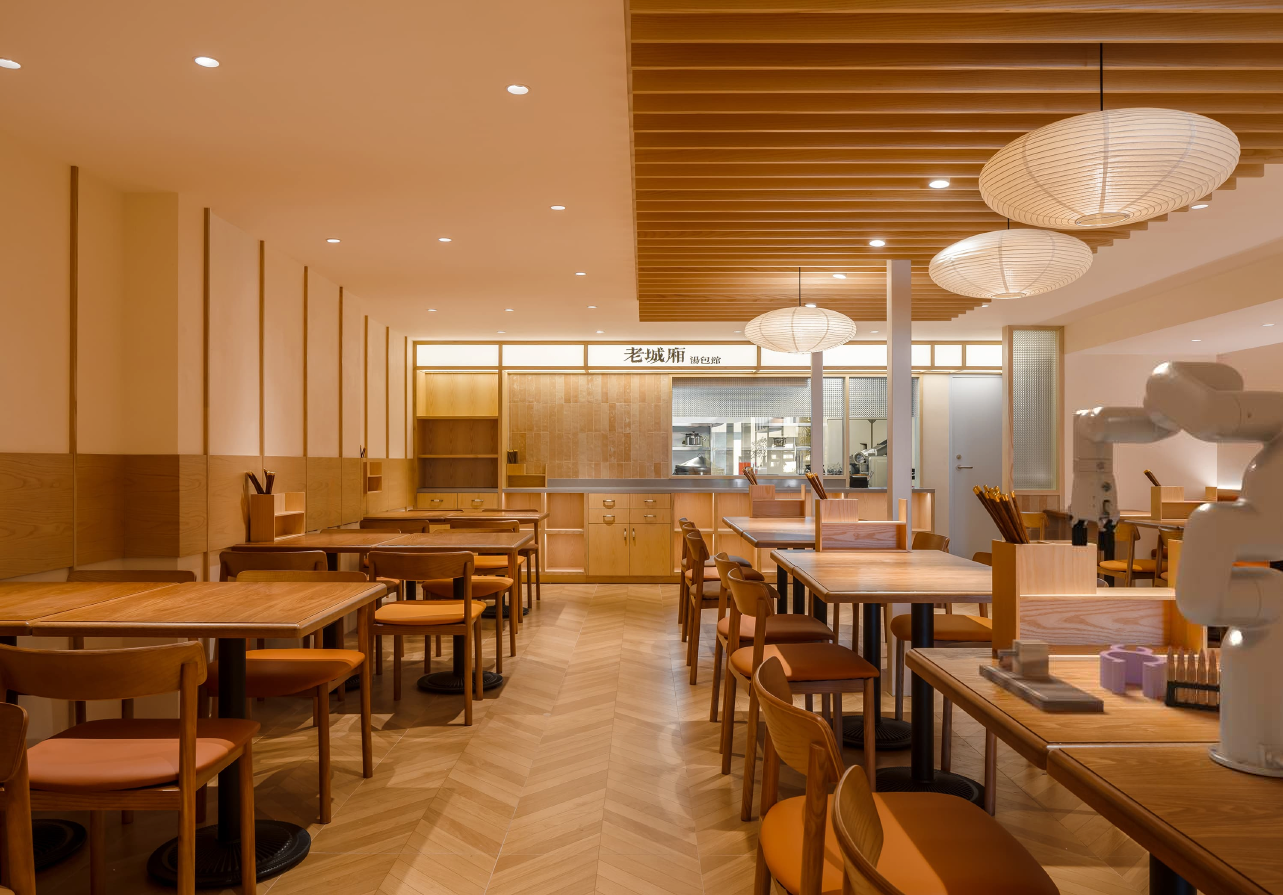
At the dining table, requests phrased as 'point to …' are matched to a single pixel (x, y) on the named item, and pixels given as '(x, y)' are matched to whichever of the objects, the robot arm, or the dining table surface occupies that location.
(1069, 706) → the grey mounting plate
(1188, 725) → the dining table surface
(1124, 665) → the clip
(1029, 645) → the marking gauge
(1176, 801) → the dining table surface
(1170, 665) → the ammunition clip
